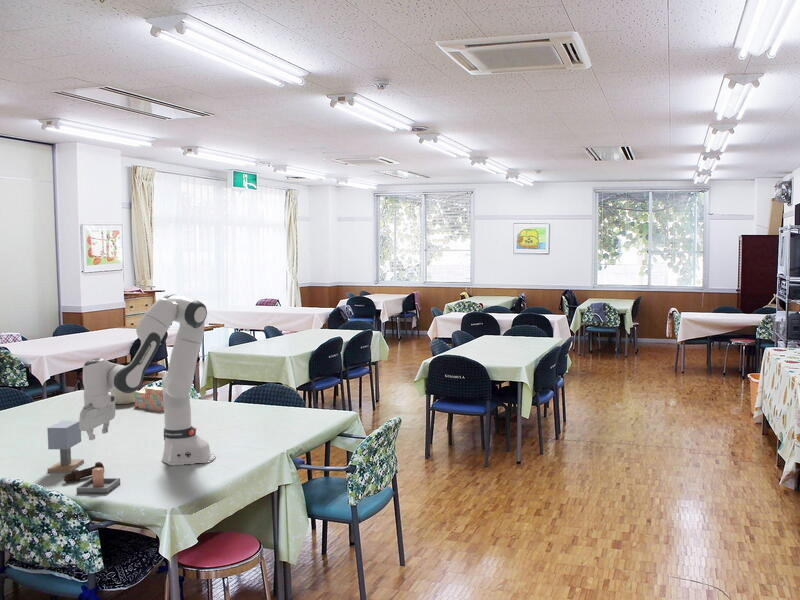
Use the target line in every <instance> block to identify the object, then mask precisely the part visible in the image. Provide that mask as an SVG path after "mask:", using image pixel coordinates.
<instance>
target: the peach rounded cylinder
mask: <svg viewBox="0 0 800 600" xmlns="http://www.w3.org/2000/svg"><path fill="white" fill-rule="evenodd" d="M104 474H105V467H104V468H94V469H92V475H91V476H92V478H93V487H104V478H105V475H104Z"/></svg>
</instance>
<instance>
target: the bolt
mask: <svg viewBox="0 0 800 600" xmlns="http://www.w3.org/2000/svg"><path fill="white" fill-rule="evenodd" d="M94 468H104V469H105V466H104V465H103V463H102V462H101V461H97V462H95V464H94V465H93V466H91V467H88V468H84V469H80V470H78V469H77V468H75V469H74V470H72V471H70V472H68V473H66V474H65V475H64V476H62V477H63V482H65V483H69V482H75V481H77V482H80V481H81V479H85V478H87V477H91V476H92V469H94Z"/></svg>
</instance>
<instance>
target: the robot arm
mask: <svg viewBox="0 0 800 600" xmlns="http://www.w3.org/2000/svg"><path fill="white" fill-rule="evenodd" d="M207 315H208V311H207V306H206V305H205V304H204V303H203V302H201V301H200V300H196V299H193V298H191V297H188V296H182V295H178V294H167V295H164V296H163V297H161V298H158V299H157V300H156V301H155V302H154V303H153V304H152V305H151V306H150V307H149V308H148V310H146V312H145V313H144V314H143V316H142V318H141V319H140V320H139V322H138V324H137V326H136V328H135V329H136V330H135V331H136V332H135V333H136V335H137V337H138V339H139V340H140V345H139V348H138V350H137V351H136V353H135V355H134V357H133V358H132V360H131V362H130V363H129V364H127V365H123V364H119V363H114V362H110V361H108V360H106V359H105V358H102V357H97V358H93V359H89V360H86V362H85V363H84V364H83V366H82V367H83V368H82V384H83V388H84V390H83V404H84V405H83V407H82V409H81V411H80V413H79V420H78V421H79V428H80V430H81V432H86V434H87V436H88V440H89V441H94V440H95V439H96V434H94V431H95V430H94V429H96V428H98V427H99V426H102V428H101V434H107V433H108V432H109V427H110V421H112V420H114V419H115V417H116V404H115V402H114V401H115V396H114V395H111V394H109V393H110V389H112V388H113V389H116V390H119V391H121V392H124V393H132V392H135V391H136V390H138V389H140V387H141V386H142V384H143V381H144V378H145V377H144V376H145V374H146V371H147V369H148V368H149V365H150V364H151V362H152V360H153V358H154V357H155V355H156V353H157V352H158V350H159V348H160V345H161V342H162V339H163V338H164V336H165V334H166V333H167V332H168V330H169V328H170V327H171V325H172V323H174V322H176V323H179V328H178V330H177V333H176V336H175V339H174V343H173V346H172V350H171V354H170V359H169V364H168V369H167V371H166V372H165V373H164V374H163V376H162V379H161V387H162V389H163V403H164V410H163V413H164V415H163V416H164V417H163V419H164V428H163V440H164V446H163V447H164V449H163V454H162V458H161V462H162V463H165V464H168V466H171V465H172V466H185V465H184V464H191V465H195V464H194V463H206V462H208V461H211V460H212V459H213V458H214V457H215V455H216V453H215V452H211V448H210V444H209V442H208V441H206V440H205V439H203V438H201V437H200V436H198V435H197V430H198V429H197V427H196V426H195V427H194V426H193V425H192V407H191V401H190V393H191V390H192V387H193V383H194V378H195V373H196V366H197V362H198V358H199V354H200V351H201V346H202V343H203V339H204V334H205V321H206V319H207ZM138 391H139V390H138ZM215 458H216V457H215ZM212 461H213V460H212ZM212 461H211V462H212ZM206 464H207V463H206Z"/></svg>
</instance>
